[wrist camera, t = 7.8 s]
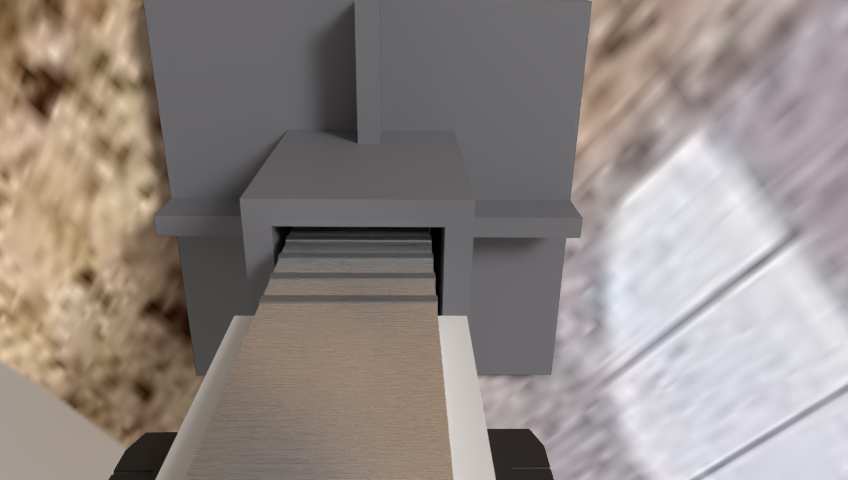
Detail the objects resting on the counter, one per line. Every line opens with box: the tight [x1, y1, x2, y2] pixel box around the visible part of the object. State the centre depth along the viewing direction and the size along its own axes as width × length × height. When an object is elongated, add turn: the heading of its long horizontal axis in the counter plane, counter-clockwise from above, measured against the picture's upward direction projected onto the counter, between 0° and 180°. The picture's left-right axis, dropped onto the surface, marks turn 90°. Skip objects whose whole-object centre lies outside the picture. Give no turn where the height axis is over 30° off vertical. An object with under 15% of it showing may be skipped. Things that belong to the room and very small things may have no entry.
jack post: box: [185, 226, 453, 480], centre depth 16 cm, size 4×4×20 cm
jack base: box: [143, 0, 592, 375], centre depth 23 cm, size 16×16×9 cm
